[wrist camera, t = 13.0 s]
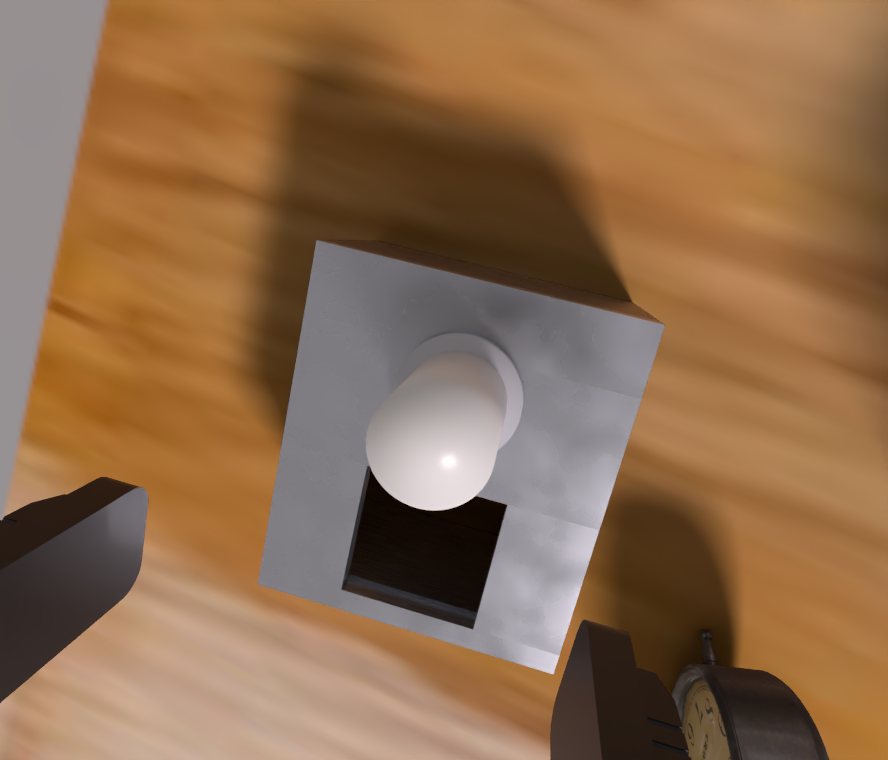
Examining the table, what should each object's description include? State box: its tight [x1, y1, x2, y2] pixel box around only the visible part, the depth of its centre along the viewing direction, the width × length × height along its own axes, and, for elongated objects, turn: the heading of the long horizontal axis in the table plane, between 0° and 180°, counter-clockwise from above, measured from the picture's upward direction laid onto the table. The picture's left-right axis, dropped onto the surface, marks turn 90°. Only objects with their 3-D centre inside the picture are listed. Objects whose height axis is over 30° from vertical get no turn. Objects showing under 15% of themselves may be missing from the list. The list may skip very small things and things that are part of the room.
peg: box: [366, 332, 524, 511], centre depth 24 cm, size 5×5×10 cm
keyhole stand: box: [258, 240, 665, 674], centre depth 30 cm, size 16×14×9 cm
